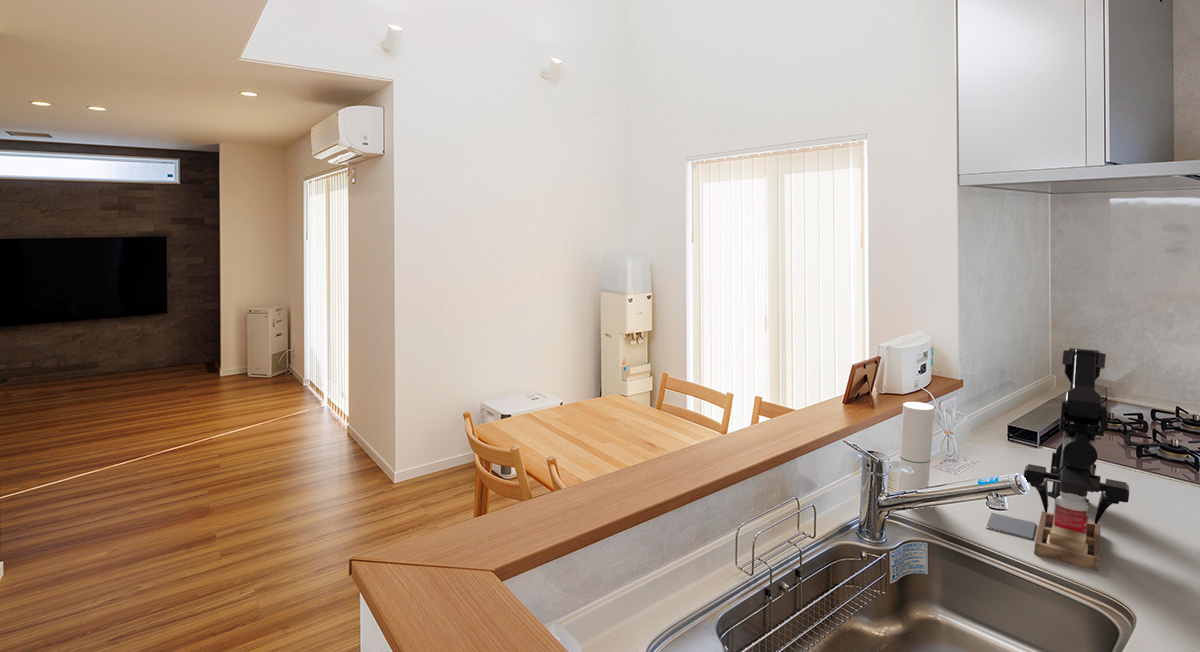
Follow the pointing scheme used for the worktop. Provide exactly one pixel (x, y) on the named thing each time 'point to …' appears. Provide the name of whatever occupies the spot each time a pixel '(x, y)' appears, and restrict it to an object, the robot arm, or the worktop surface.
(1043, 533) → the rack
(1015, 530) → the mat
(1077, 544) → the upper offcut
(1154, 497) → the worktop surface
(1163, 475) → the worktop surface
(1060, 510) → the pill bottle
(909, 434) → the cylindrical container
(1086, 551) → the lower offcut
